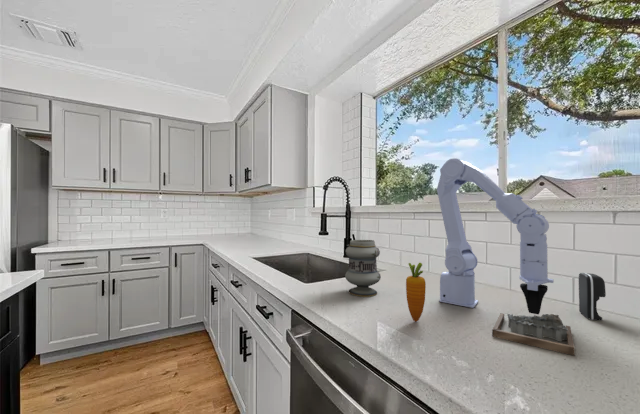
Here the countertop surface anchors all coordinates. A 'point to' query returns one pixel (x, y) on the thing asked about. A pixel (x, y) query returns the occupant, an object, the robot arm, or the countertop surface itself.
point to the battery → (590, 294)
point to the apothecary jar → (362, 267)
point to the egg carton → (538, 326)
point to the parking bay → (534, 339)
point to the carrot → (415, 292)
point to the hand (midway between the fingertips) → (534, 313)
